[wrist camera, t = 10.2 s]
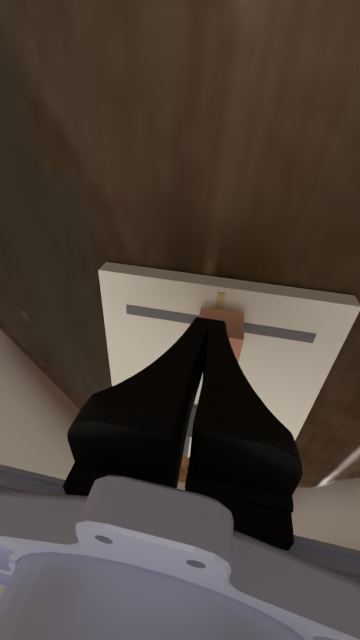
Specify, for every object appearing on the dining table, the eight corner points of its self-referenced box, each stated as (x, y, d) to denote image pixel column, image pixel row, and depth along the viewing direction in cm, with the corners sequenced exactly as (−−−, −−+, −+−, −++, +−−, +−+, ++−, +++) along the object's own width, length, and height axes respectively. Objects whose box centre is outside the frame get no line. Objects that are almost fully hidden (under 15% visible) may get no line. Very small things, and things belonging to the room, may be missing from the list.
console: (354, 295, 20) (362, 307, 18) (287, 438, 29) (289, 453, 28) (106, 261, 22) (97, 270, 21) (120, 405, 32) (115, 417, 30)
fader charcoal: (213, 411, 26) (210, 441, 24) (210, 431, 28) (206, 461, 25) (181, 405, 27) (174, 434, 24) (180, 424, 28) (173, 453, 26)
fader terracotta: (244, 313, 20) (243, 340, 17) (236, 346, 22) (235, 375, 19) (201, 306, 20) (195, 332, 18) (197, 339, 22) (191, 367, 19)
